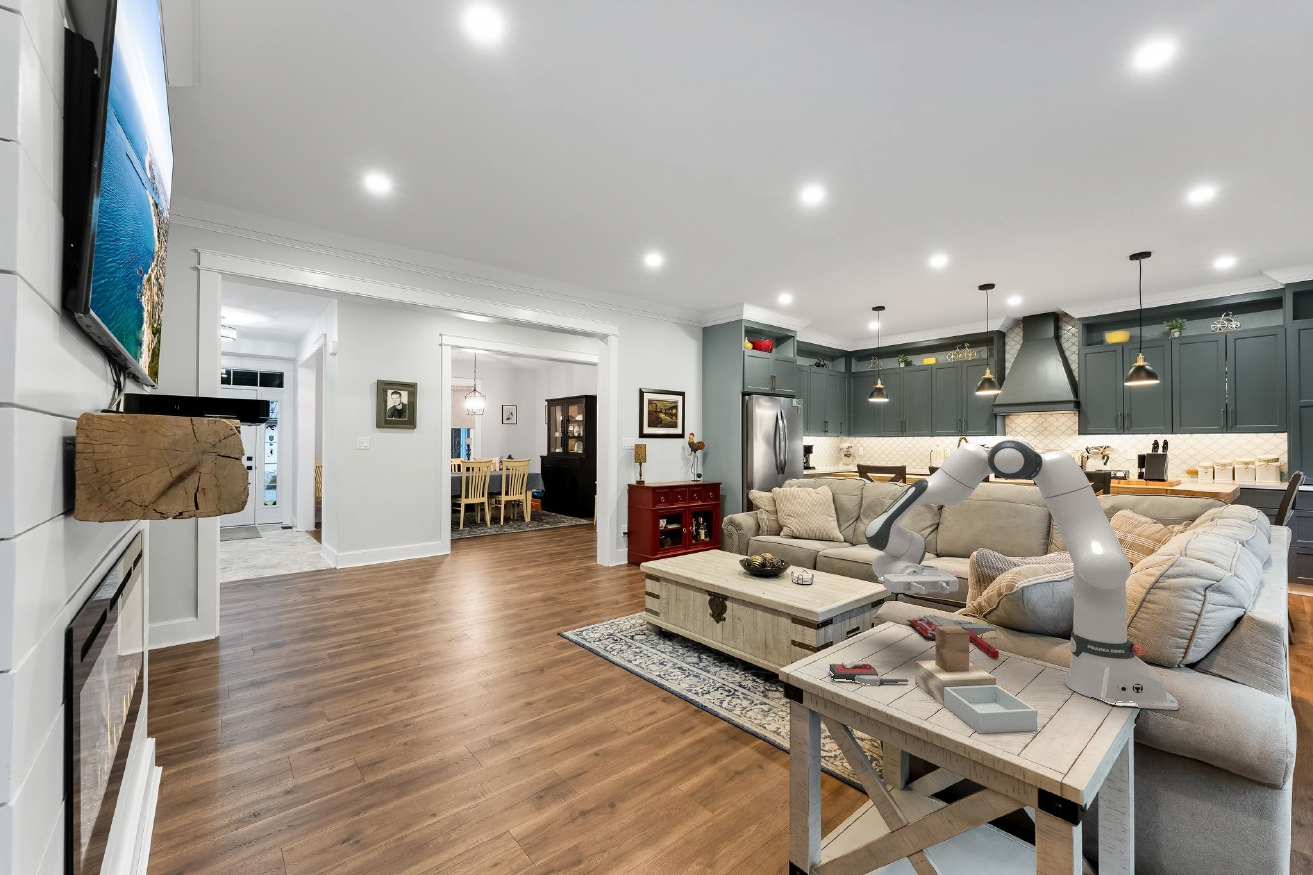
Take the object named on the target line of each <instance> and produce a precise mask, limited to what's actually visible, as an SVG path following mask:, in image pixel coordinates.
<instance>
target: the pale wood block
mask: <svg viewBox="0 0 1313 875" xmlns="http://www.w3.org/2000/svg"><path fill="white" fill-rule="evenodd" d="M914 683H915V685H917V686H918V687H920V689H922V690H923V691H924V692H926V693H927V694H928V695H930V696H931V697H932V698H933V699H934V700H936V701H937V702H939V703H940V704H941V705H942V706H944V687H961V686H983V685H997V678H996V677H995V676H993V675H992V674H990V673H989V672H986V671H985V670H984V669H982V668H981V667H978V666H977V665H975V664H973V663H972V662H970V661H969V671H966V672H946V671H944V670H943V669H942V668H940V667H939V666H937V665H936V664H935V660H916V661H915V682H914Z"/></svg>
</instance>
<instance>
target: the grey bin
mask: <svg viewBox="0 0 1313 875" xmlns="http://www.w3.org/2000/svg"><path fill="white" fill-rule="evenodd" d="M943 706H944V707H945V708H946V709H948V710H949V711H950V712H951V713H952V714H954V715H955V716H956V717H957V718H959V719H960V720H961V721H962V722H964V723H965V724H966V725H968V726H969V727H970V728H971V729H973V730H974V731H976V732H977V734H994V733H1013V732H1015V733H1016V732H1030V731H1038V709H1036V708H1034V707H1033V706H1031V705H1029V704H1028V703H1026V702H1025V701H1023V699H1020V698H1019V697H1017V696H1016V695H1014V694H1013V693H1010V692H1009V691H1007V690H1006V689H1004V688H1003V687H1001V686H999V684H996V685H983V686H961V687H944V705H943Z"/></svg>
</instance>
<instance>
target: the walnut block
mask: <svg viewBox="0 0 1313 875" xmlns="http://www.w3.org/2000/svg"><path fill="white" fill-rule="evenodd" d="M970 643H971V641H970V632H968V631H966V630H964V629H962V628H961V627H959V626H936V639H935V655H934V657H935V664H936V665H937V666H939V667H940V668H942V669H943V670H944V671H946V672H966V671H969V662H970Z"/></svg>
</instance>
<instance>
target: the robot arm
mask: <svg viewBox="0 0 1313 875" xmlns="http://www.w3.org/2000/svg"><path fill="white" fill-rule="evenodd" d="M993 474H994V475H996V476H997V477H999V478H1002V479H1004V480H1011V481H1012V480H1013V481H1017V480H1032V481H1033V482H1034V483H1035V484H1036V486H1037V487H1038V489H1039V491H1040V493H1041V496H1042V498H1043V500H1044V502H1045V505H1046V507H1047V509H1048V510H1049V512H1050V514H1051V517H1052V519H1053V521H1054V523H1055V525H1056V527H1057V530H1058V532H1059V534H1060V536H1061V539H1062V541H1063V544H1064V545H1065V546H1064V547H1065V548H1066V550H1067V552H1068V555H1069V557H1070V559H1071V562H1072V563H1073V626H1072V627H1073V628H1072V631H1071V632H1070V633H1071V634H1070V636H1071V637H1070V652H1071V658H1070V666H1069V669H1068V673H1067V676H1066V678H1065V680H1064V683H1065V685H1066V686H1067V688H1069V689H1071V690H1072V691H1075V693H1078V694H1080V695H1083V696H1086V697H1088V698H1091V697H1095V698H1097V699H1102V700H1104V701H1107V702H1110V703H1136V704H1138V708H1139V709H1150V710H1151V709H1152V710H1153V709H1154V710H1170V711H1177V710H1179V708H1180V706H1179V702H1178V701H1177V699H1176V698H1175V697H1174V696H1173V695H1172V694H1171V693H1169V692H1168V691H1167V689H1166V685H1165V682H1164V680H1163V678H1162V676H1161V675H1160V674H1159V673H1158V672H1157V671H1156V670H1154V669H1153V667H1151V666H1150V665H1148V663H1146V662H1144V661H1143V660H1142V659H1140V657H1138V656H1144V654H1145V653H1146V651H1145V649H1144V648H1143V647H1142V646H1140V645H1139V644H1135V643H1134V642H1132V641H1131V640H1129V639H1128V603H1127V599H1128V598H1127V583H1126V582H1127V581H1128V579H1129V578H1130V576H1131V572H1132V570H1131V569H1132V568H1131V567H1132V566H1131V563H1130V560H1129V558H1128V556H1127V554H1126V553H1125V552H1126V551H1124V548H1123V546H1122V545H1121V543H1120V540H1119V539H1118V536H1117V535H1116V533H1115V531H1114V528H1113V527H1112V525H1111V523H1110V521H1109V519H1108V516H1107V515H1106V514H1105V511H1104V509H1103V507H1102V505H1101V503H1100V501H1099V499H1098V496H1097V495H1096V493H1095V491H1094V488H1093V487H1092V484H1091V482H1090V481H1089V479H1088V477H1087V475H1086V474H1085V472H1084V470H1083V469H1082V467H1081V466H1080V464H1079V463H1078V462H1077V461H1076V459H1075V458H1074V457H1073V456H1072V454H1070V453H1069V452H1067V451H1062V450H1054V451H1053V450H1052V451H1048V452H1045V453H1043V452H1042V453H1041V452H1038V451H1036V450H1035V448H1034V447H1033V446H1032V445H1031V444H1030V443H1028V442H1026V441H1024V440H1020V439H1016V438H1010V439H1009V438H1008V439H1004V440H1002V441H999V442H998V443H996V444H994V446H992V447H991V446H990V447H989V448H987V447H985V446H982V445H980V444H978V443H974V442H965V443H962V444H961V445H959V446H958V448H956V449H955V450H954V451H953V452H952V453H950V455H949V456H948V457H947V458H946V459H945V460H944V462H943V463H941V466H940V467H939V468H938V469H937V470H936V471H935V472H934V473H932V474H931V475H930V476H928V477H926V478H924V479H923V478H921V479H918V480H916V481H914V482H913V483H912V484H911V485H909V486H908V487H907V488H906V489H905V490H904V491H903V492H902V493H901V494H899V496H898V497H897V498H896V499H895V500H894V501H892V502H891V504H889V505H888V506H887V507H886V508H885V509H884V510H883V512H881V513H880V514H878V515H877V516H875V517H874V518H873V519H871V521H869V522H868V524H867V525H866V527H865V529H864V537H865V540H866V543H867V544H868V546H869V547H870V548H871V549H874V550H876V551H879V552H882V553H878V554H876V556H874V558H873V559H872V562H871V567H872V571H873V573H874V574H875V576H876V577H877V581H878V582H879V583H881V584H883V585H882V586H883V587H884V588H885V590H887V591H888V592H891V593H894V594H901V593H902V594H903V593H905V594H908V595H915V594H917V593H920V594H922V595H928V594H929V593H937V592H938V593H941V594H950V592H958V591H959V590H958V589H959V579H958V578H957V576H954V575H952V574H950V573H948V572H946V571H942V570H939V567H936V566H934V565H933V566H931V565H923V564H922V563H923V561H924V559H925V557H926V555H927V554H926V553H927V542H926V540H925V538H924V536H923V535H921V534H919V533H917V532H915V531H913V530H911V529H908V528H906V527H905V526H901V525H899V523H900V522H901V521H902V520H903V519H904V518H905V517H906V516H907V515H908V514H909V513H910V512H912V510H913V509H915V508H916V507H919V506H922V505H938V506H939V505H940V506H957V505H960V504H962V503H963V502H965V501H966V500H967V499H968V498H970V497H971V495H972V494H973V493H974V492H975V490H976V489H977V488H978V486H979V485H980V484H981V483H982V481H983V480H984V479H985V478H986V477H988V476H989V475H993ZM1097 699H1096V700H1097ZM1117 701H1122V702H1117ZM1129 701H1133V702H1129Z"/></svg>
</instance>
